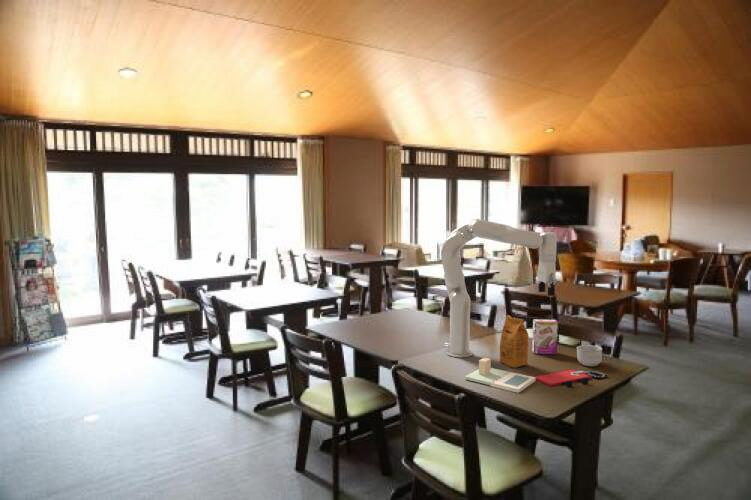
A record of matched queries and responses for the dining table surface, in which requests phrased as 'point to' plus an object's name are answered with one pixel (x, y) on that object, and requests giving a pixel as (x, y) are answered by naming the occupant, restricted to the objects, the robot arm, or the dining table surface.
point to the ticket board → (513, 382)
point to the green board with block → (485, 372)
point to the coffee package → (514, 343)
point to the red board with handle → (567, 377)
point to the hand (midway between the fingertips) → (546, 293)
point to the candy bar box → (545, 336)
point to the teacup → (589, 355)
